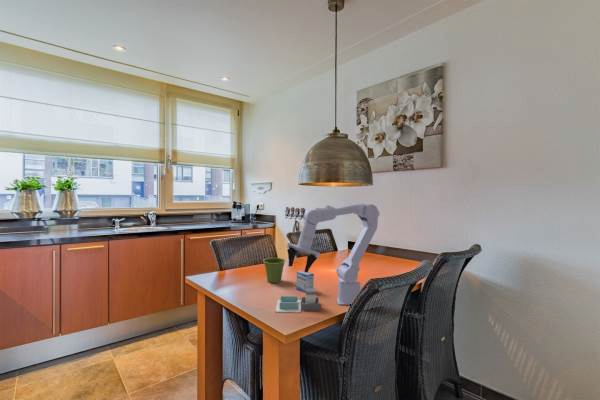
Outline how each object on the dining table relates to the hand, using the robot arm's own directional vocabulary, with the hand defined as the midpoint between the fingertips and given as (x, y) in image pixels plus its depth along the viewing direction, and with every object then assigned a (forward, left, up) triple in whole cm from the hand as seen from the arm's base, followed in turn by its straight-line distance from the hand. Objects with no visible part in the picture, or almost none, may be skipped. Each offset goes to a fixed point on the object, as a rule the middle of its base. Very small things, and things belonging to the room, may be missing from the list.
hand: (298, 269), depth 126 cm
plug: (-5, +1, -15) cm, 16 cm away
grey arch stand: (-5, +1, -15) cm, 16 cm away
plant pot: (+13, -34, -16) cm, 40 cm away
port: (+4, +1, -15) cm, 16 cm away
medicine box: (-3, -20, -16) cm, 26 cm away
